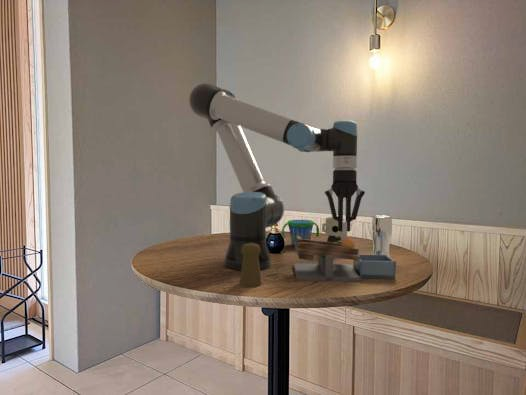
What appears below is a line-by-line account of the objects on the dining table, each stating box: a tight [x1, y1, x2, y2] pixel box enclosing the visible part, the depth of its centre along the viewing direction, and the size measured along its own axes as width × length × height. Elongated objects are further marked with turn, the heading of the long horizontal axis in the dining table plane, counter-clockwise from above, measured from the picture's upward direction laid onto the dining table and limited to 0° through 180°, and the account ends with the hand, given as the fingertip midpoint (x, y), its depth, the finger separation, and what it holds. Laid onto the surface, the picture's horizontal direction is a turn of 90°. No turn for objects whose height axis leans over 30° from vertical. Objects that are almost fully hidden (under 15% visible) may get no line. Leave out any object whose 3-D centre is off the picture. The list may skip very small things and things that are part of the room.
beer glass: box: [371, 215, 393, 258], centre depth 141 cm, size 7×7×15 cm
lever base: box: [293, 255, 362, 282], centre depth 119 cm, size 18×16×7 cm
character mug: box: [321, 216, 345, 242], centre depth 151 cm, size 11×7×13 cm, turn 111°
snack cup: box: [281, 219, 320, 247], centre depth 163 cm, size 16×10×10 cm
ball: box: [341, 237, 355, 248], centre depth 119 cm, size 4×4×4 cm
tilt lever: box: [294, 236, 360, 261], centre depth 123 cm, size 18×20×6 cm
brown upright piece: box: [239, 243, 262, 287], centre depth 108 cm, size 6×6×11 cm
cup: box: [352, 253, 397, 280], centre depth 119 cm, size 10×9×5 cm
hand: (343, 241), depth 130 cm, fingers closed
